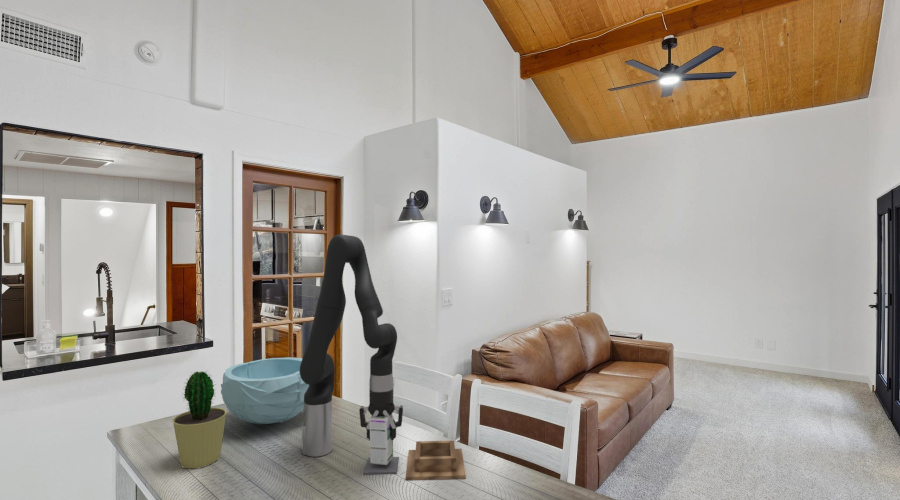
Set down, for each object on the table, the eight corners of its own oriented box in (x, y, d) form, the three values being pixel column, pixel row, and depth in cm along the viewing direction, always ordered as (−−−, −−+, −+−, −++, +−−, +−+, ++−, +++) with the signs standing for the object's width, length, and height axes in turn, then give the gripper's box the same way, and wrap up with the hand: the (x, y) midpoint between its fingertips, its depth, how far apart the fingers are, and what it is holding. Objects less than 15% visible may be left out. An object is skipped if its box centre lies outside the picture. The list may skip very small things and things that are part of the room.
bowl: (259, 450, 157) (259, 386, 156) (203, 428, 175) (202, 372, 175) (335, 417, 186) (335, 364, 186) (280, 402, 205) (279, 353, 205)
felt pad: (363, 474, 140) (363, 472, 140) (368, 459, 150) (368, 457, 150) (396, 473, 140) (396, 471, 140) (398, 458, 150) (398, 456, 150)
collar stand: (405, 480, 136) (405, 463, 136) (408, 452, 154) (408, 438, 154) (465, 478, 137) (465, 462, 137) (461, 451, 155) (461, 437, 155)
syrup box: (387, 465, 141) (387, 418, 141) (369, 463, 143) (369, 417, 142) (393, 456, 147) (393, 412, 147) (376, 455, 148) (375, 411, 148)
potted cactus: (237, 453, 154) (236, 365, 154) (199, 475, 140) (197, 378, 139) (202, 447, 159) (201, 361, 159) (161, 467, 145) (160, 373, 144)
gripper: (356, 391, 140) (356, 445, 141) (403, 390, 141) (403, 444, 141) (360, 384, 148) (360, 434, 148) (404, 383, 149) (404, 434, 149)
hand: (381, 439), depth 145 cm, fingers closed on syrup box, 6 cm apart
